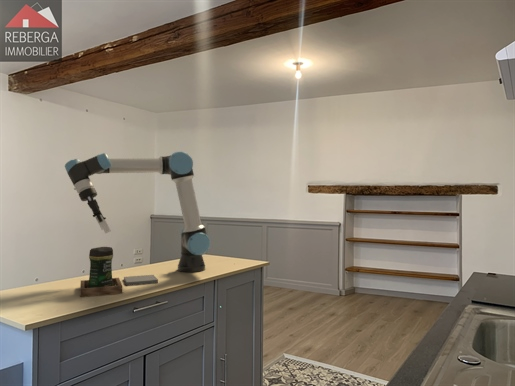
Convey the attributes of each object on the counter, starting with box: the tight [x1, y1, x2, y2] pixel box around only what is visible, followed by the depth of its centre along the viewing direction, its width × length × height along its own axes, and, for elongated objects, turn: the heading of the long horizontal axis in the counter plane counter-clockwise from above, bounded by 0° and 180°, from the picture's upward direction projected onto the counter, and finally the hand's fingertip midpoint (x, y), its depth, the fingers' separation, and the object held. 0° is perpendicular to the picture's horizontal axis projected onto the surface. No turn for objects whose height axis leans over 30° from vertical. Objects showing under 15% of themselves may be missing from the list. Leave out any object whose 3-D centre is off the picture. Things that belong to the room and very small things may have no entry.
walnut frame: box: [79, 277, 123, 298], centre depth 164 cm, size 16×18×3 cm
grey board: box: [123, 274, 159, 286], centre depth 182 cm, size 14×13×2 cm
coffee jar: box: [87, 246, 114, 288], centre depth 164 cm, size 10×8×19 cm
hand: (106, 230), depth 178 cm, fingers open, 13 cm apart
